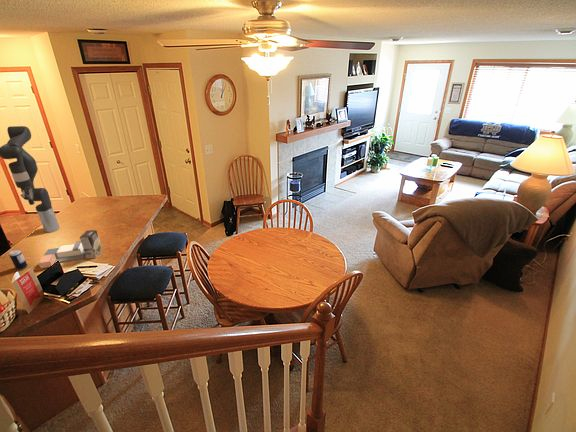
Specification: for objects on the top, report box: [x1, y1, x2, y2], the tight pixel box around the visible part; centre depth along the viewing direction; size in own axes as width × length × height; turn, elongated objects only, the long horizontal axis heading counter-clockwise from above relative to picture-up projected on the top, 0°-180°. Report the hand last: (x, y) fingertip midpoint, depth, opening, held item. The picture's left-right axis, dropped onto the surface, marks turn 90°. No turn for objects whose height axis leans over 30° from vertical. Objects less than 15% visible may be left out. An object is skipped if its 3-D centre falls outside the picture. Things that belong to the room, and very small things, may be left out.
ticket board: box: [38, 240, 86, 267], centre depth 197 cm, size 18×24×6 cm
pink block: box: [38, 254, 56, 269], centre depth 187 cm, size 8×6×4 cm
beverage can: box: [8, 249, 28, 271], centre depth 183 cm, size 6×6×12 cm
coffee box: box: [79, 229, 103, 259], centre depth 196 cm, size 9×6×16 cm
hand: (32, 204), depth 192 cm, fingers closed
